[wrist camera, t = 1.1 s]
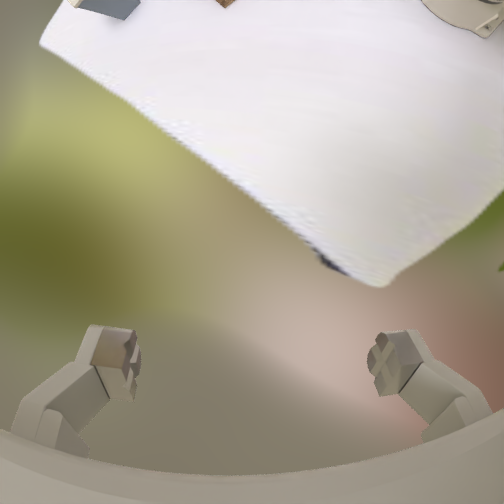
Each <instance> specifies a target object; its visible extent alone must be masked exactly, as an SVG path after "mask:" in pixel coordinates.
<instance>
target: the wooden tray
mask: <svg viewBox="0 0 504 504" xmlns="http://www.w3.org/2000/svg"><path fill="white" fill-rule="evenodd" d="M216 1H217V2H218V3H220V4H221V5H222V6H223V7H224V8H226V7H227V6H228V5H229V4H231V3H232V2H233V1H234V0H216Z"/></svg>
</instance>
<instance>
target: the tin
mask: <svg viewBox="0 0 504 504" xmlns="http://www.w3.org/2000/svg"><path fill="white" fill-rule="evenodd" d="M68 2H69V3H70V4H71V5H72V6H73V7H74V8H82V9H86V10H90V11H94V12H97V13H101V14H105V15H108V16H112V17H115V18H118V19H121V20H125V19H126V18H127V17H128V15H129V14H130V13H131V12H132V11H133V10H134V9H135V8H136V7H137V6H138V5H139V3H140V1H139V0H68Z"/></svg>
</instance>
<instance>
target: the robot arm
mask: <svg viewBox="0 0 504 504" xmlns="http://www.w3.org/2000/svg"><path fill="white" fill-rule="evenodd" d="M422 2H423V3H424V4H425V5H426V6H427V7H428V8H429V9H430V10H431V11H432V12H433V13H434V14H435V15H437V16H438V17H439V18H441V19H442V20H444V21H446V22H447V23H449V24H452V25H454V26H457V27H460V28H464V29H468V30H471V31H473V32H474V33H476V34H477V35H479V36H481V37H483V38H487V37H489V36H490V35H491V33H492V32H493V31H494V30H495V29H496V28H497V27H498V25H499V24H500V23H501V22H502V21H503V20H504V0H422ZM485 27H487V29H488V30H487V29H486V28H485ZM375 340H376V343H377V344H376V345H375V346H373V347H372V348H371V349H370V351H369V353H368V358H367V364H368V369H369V371H370V373H371V374H373V375H374V376H375V381H374V384H375V386H376V389H377V391H378V394H379V396H387V395H393V394H398V395H399V396H400V397H401V398H402V399H403V400H404V401H405V402H406V403H407V404H409V406H411V407H412V408H413V409H414V410H415V411H416V412H417V413H418V414H419V415H420V416H421V417H422V418H423V419H424V420H425V421H426V422H427V423H428V424H429V426H428V427H427V428H426V429H425V430H424V431H423V432H422V434H421V437H422V439H423V442H424V443H423V444H420V445H417V446H414V447H411V448H408V449H405V450H401V451H398V452H395V453H391V454H387V455H384V456H380V457H376V458H372V459H368V460H363V461H359V462H354V463H350V464H344V465H339V466H334V467H328V468H322V469H315V470H308V471H299V472H290V473H280V474H265V475H244V476H243V475H239V476H217V475H192V474H178V473H167V472H159V471H150V470H143V469H137V468H130V467H125V466H119V465H114V464H109V463H104V462H99V461H95V460H91V459H88V456H89V450H90V448H89V447H88V445H87V444H86V443H85V442H84V441H83V439H82V438H81V437H80V436H79V435H78V434H79V433H80V432H81V431H82V430H83V429H84V428H85V427H86V425H88V424H89V422H90V421H91V420H92V419H93V418H94V417H95V416H96V415H97V414H98V413H99V412H100V410H101V409H102V408H103V407H104V406H105V405H106V404H107V403H108V402H109V401H110V399H115V400H122V401H131V402H134V399H135V394H136V389H137V384H136V380H135V378H136V377H137V376H138V375H139V373H140V368H141V352H140V347H139V346H138V345H136V341H137V335H136V331H135V330H129V329H122V328H114V327H107V326H99V325H91V326H90V327H89V328H88V330H87V332H86V335H85V337H84V339H83V342H82V344H81V347H80V349H79V351H78V354H77V357H76V360H75V362H69V363H68V364H67V365H65V366H64V367H63V368H62V369H60V370H59V371H58V372H56V373H55V374H54V375H52V376H51V377H50V378H48V380H46V381H45V382H43V383H42V384H41V385H39V386H38V387H37V388H36V389H34V390H33V391H32V392H30V393H29V394H28V395H27V396H25V397H24V398H23V399H22V400H21V403H20V405H19V408H18V411H17V413H16V416H15V419H14V422H13V425H12V428H11V431H10V433H9V432H7V431H4V430H2V429H0V504H504V408H503V409H501V410H499V411H498V412H496V413H494V414H493V413H492V411H491V409H490V407H489V405H488V403H487V401H486V400H485V398H484V396H483V394H482V392H481V391H480V389H479V388H477V387H476V386H474V385H473V384H472V383H470V382H469V381H468V380H466V379H465V378H463V377H462V376H460V375H459V374H457V373H456V372H455V371H453V370H452V369H450V368H449V367H447V366H446V365H445V364H443V363H442V362H440V361H439V360H435V359H434V357H433V356H432V354H431V352H430V351H429V349H428V347H427V346H426V344H425V342H424V340H423V339H422V337H421V335H420V334H419V332H418V331H417V330H416V329H410V330H400V331H390V332H381V333H380V334H378V336H377V338H376V339H375Z"/></svg>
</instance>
